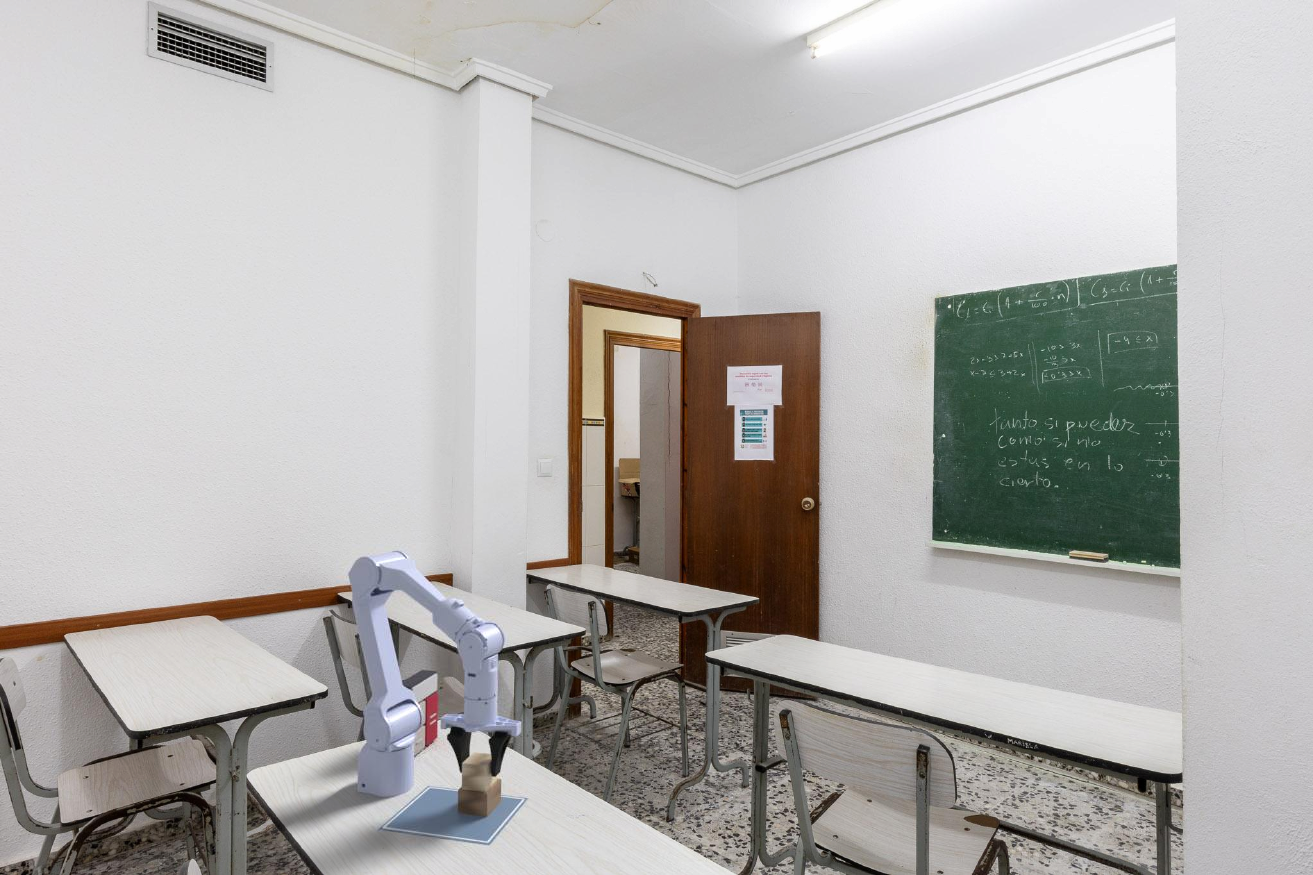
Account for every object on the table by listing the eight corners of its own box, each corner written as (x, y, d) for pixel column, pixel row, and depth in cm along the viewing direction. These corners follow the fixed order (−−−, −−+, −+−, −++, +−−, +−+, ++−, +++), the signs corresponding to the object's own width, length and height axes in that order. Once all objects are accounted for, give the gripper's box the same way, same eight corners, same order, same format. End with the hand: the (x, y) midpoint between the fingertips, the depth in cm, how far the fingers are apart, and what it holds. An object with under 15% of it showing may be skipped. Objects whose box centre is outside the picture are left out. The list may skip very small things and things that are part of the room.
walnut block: (457, 813, 123) (458, 789, 123) (472, 797, 128) (473, 775, 128) (487, 816, 121) (487, 793, 122) (501, 801, 127) (501, 778, 127)
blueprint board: (378, 833, 117) (378, 828, 117) (428, 790, 133) (428, 785, 133) (489, 849, 113) (489, 844, 113) (528, 802, 128) (528, 797, 128)
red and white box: (412, 760, 145) (413, 686, 145) (393, 758, 146) (394, 685, 146) (439, 739, 156) (440, 670, 156) (421, 737, 157) (422, 669, 157)
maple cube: (461, 789, 123) (462, 763, 123) (473, 777, 127) (473, 752, 127) (485, 791, 122) (486, 765, 122) (497, 780, 126) (497, 754, 127)
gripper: (431, 698, 123) (430, 777, 123) (509, 706, 120) (508, 787, 119) (452, 685, 130) (451, 760, 129) (526, 692, 126) (525, 768, 126)
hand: (480, 772), depth 125 cm, fingers open, 5 cm apart
